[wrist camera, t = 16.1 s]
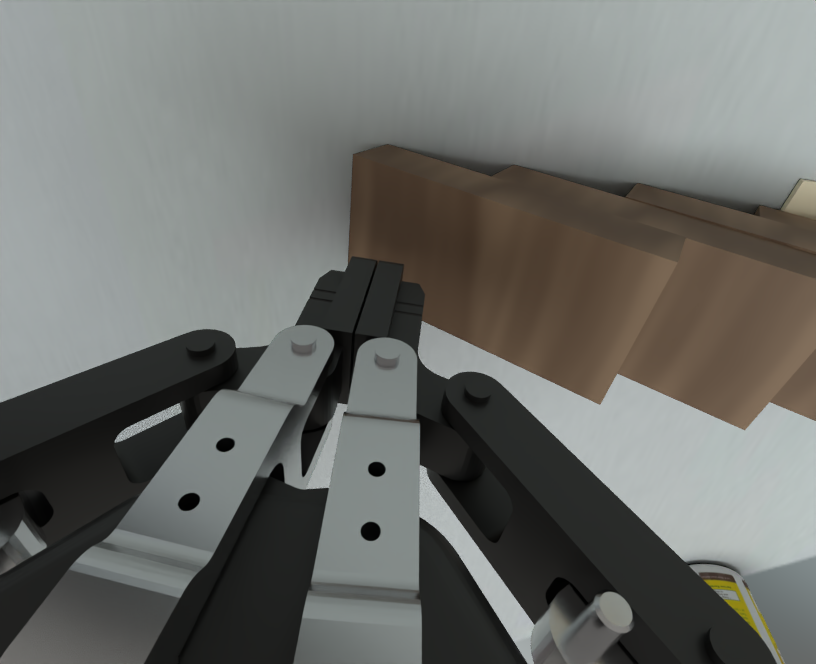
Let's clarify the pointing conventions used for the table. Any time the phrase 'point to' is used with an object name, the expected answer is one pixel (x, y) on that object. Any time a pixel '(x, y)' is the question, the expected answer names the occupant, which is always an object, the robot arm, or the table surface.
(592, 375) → the domino
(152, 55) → the table surface
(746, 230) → the domino
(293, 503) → the robot arm
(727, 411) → the domino
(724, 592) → the supplement bottle
